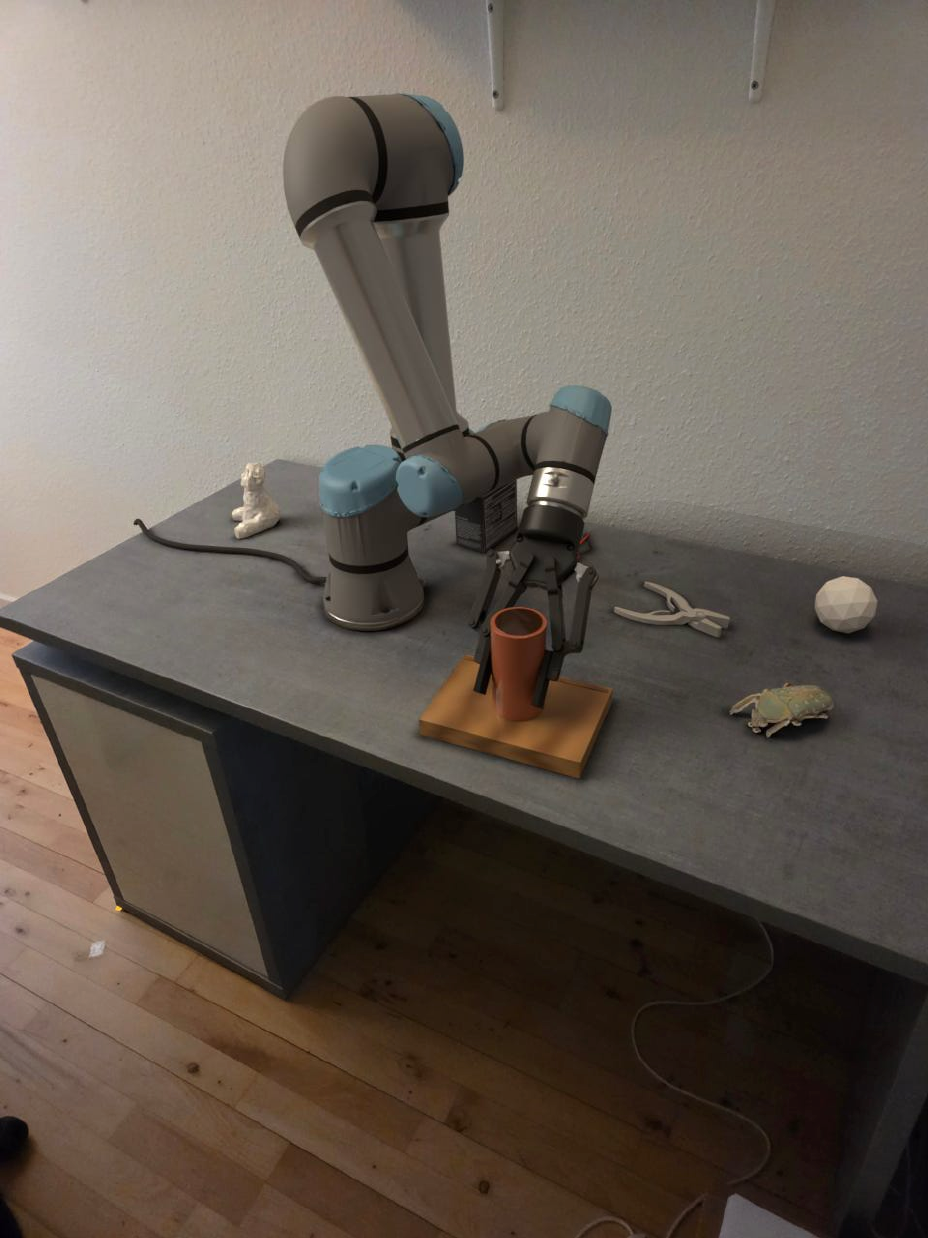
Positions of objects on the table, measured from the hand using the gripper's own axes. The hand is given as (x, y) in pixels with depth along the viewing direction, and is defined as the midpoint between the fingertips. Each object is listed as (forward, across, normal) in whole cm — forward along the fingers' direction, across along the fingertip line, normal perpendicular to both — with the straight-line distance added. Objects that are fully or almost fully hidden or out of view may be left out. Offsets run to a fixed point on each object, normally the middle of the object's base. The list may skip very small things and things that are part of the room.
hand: (507, 699), depth 91 cm
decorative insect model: (-7, +29, +16) cm, 34 cm away
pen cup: (0, 0, +5) cm, 5 cm away
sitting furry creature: (-22, -63, +30) cm, 73 cm away
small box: (-29, -22, +37) cm, 52 cm away
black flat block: (-28, -10, +36) cm, 47 cm away
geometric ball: (-23, +35, +32) cm, 53 cm away
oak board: (+2, 0, +7) cm, 7 cm away
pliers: (-19, +13, +28) cm, 37 cm away
